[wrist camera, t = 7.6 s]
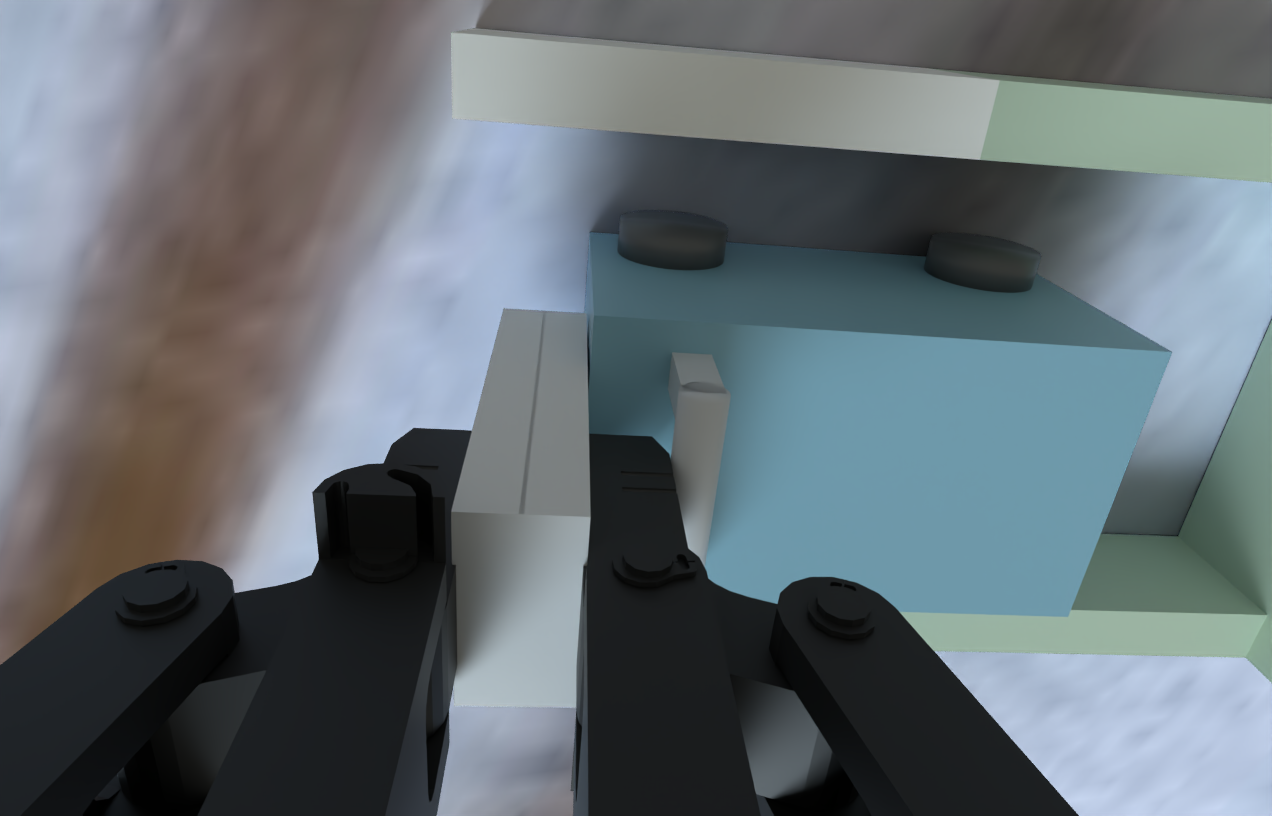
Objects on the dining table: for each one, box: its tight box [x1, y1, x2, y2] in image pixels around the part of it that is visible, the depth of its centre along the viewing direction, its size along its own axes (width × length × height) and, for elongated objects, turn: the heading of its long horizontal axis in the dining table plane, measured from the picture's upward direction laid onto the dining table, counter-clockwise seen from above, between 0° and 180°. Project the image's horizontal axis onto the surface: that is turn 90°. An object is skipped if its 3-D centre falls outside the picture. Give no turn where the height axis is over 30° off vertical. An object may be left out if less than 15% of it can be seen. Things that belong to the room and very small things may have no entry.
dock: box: [451, 28, 1272, 683], centre depth 16 cm, size 19×11×4 cm, turn 85°
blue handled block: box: [584, 210, 1172, 617], centre depth 15 cm, size 9×6×7 cm
